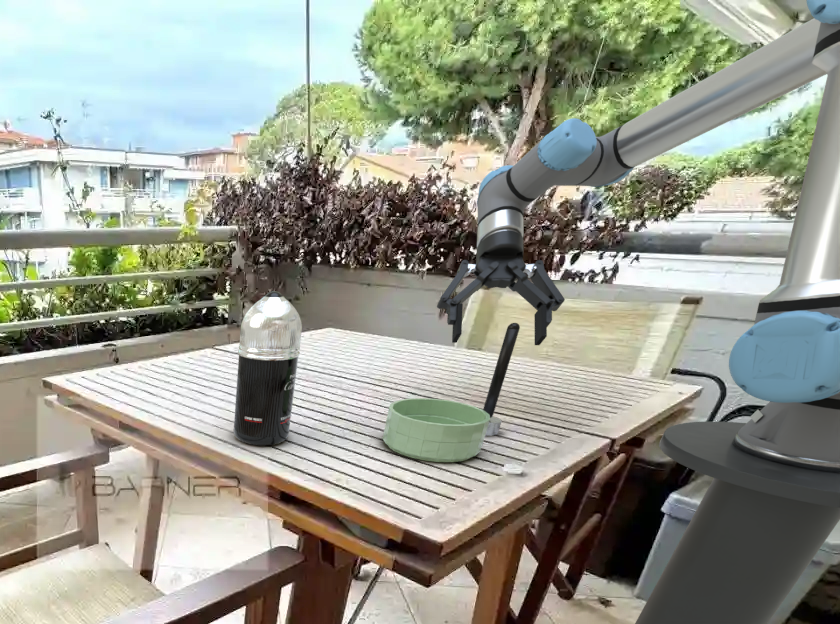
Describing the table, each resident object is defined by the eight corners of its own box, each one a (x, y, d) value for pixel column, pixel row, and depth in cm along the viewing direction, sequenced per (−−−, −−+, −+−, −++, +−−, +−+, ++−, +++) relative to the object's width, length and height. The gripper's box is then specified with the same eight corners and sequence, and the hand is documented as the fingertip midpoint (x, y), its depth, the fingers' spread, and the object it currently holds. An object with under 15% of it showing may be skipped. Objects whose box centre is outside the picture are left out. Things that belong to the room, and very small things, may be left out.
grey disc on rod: (501, 431, 102) (536, 322, 92) (492, 437, 99) (527, 326, 89) (472, 425, 105) (503, 319, 95) (463, 431, 102) (494, 323, 92)
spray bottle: (223, 441, 99) (232, 293, 87) (244, 425, 107) (255, 286, 94) (278, 452, 94) (295, 296, 82) (296, 434, 102) (315, 289, 90)
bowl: (491, 446, 95) (502, 410, 92) (460, 471, 86) (471, 432, 82) (403, 427, 104) (410, 393, 101) (366, 448, 95) (374, 411, 92)
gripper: (564, 258, 105) (565, 354, 100) (423, 258, 111) (417, 349, 106) (586, 227, 98) (589, 328, 93) (434, 229, 104) (429, 324, 99)
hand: (497, 339), depth 99 cm, fingers open, 13 cm apart
